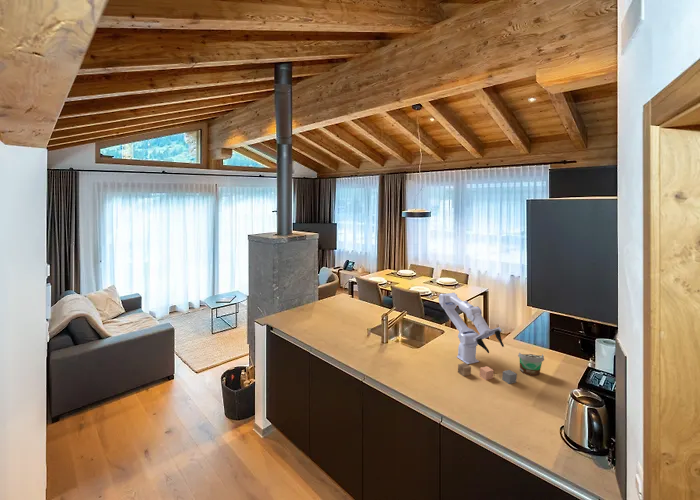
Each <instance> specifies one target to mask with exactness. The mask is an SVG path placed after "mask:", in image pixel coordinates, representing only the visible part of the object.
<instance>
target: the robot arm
mask: <svg viewBox="0 0 700 500" xmlns="http://www.w3.org/2000/svg"><path fill="white" fill-rule="evenodd" d="M438 303H439V305H440V306H441V308H442V309H443V310H444V312H445V313H446V315H447V316H448V318H449V320H450V322H452V324H453V325H454V326H455V328H456V330H457V331H458V334H457V338H458V339H459V344H458V349H457V350H458V351H457V355H456V358H458V359H459V360H461V362H462V363H466V364H468V365H470V364H475V363H479V362H480V360H478V359H477V358H476V355H477V347H478V346H479V347H482V349H484V351H486V352H487V354H489V353H490V351H489V349H488V347H487V346H486V344H485V342H484V339H487V338H489V337H491V336H493V335H495V337H496V339H497V340H498V342H499V343H500V345H501V347H502V348H505V346H504V342H503V339H502V336H501V333H502V329H501V327H495V328H490V326H489V325H488V324H487V322H486V320H485V318H484V317H483V315H482V310H481V308H480V307H479V306H474V305H472V304H471V303H469V302H468V300H462V299H461V298H459V297H458V294H457V293H455V292H449V293H447V292H446V293H440V294H439V295H438ZM457 306H458V308H459V310H460V311H462V312H463V313H464V314H465V315H466V318H467V319H468V320H469V321H471V322H472V323H473V325H474V326H475V328H476V330H477V331H478V332H476V331H475V329H473V328H471V327H468V325H467V324H466V323H465V321H464V320H463V319H462V317H461V316H460V314H459V313H458V312H457V310H456V308H457Z"/></svg>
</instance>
